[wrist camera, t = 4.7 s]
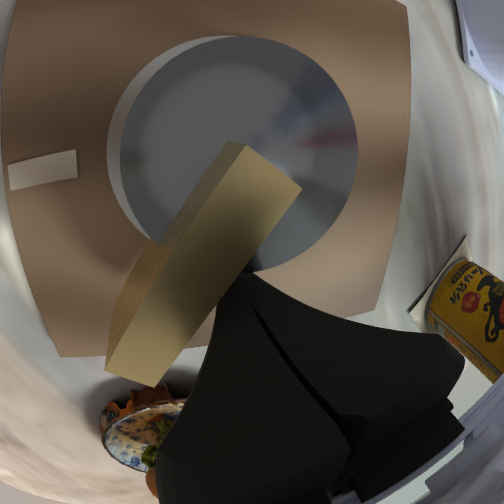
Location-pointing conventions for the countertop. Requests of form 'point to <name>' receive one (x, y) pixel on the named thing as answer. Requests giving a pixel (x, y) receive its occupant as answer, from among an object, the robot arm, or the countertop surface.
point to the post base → (112, 124)
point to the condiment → (466, 312)
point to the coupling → (223, 185)
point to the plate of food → (140, 429)
